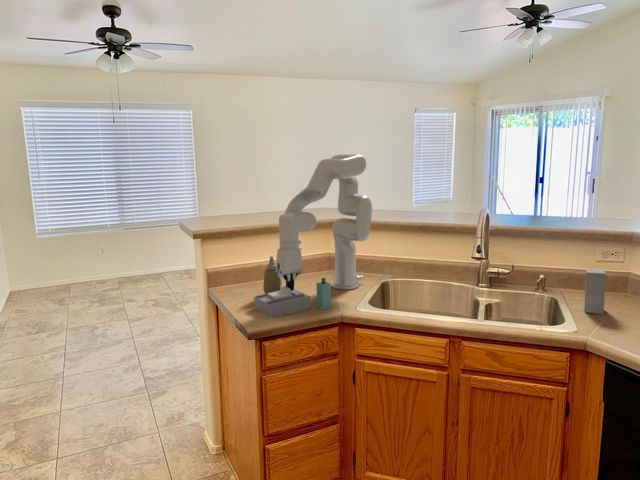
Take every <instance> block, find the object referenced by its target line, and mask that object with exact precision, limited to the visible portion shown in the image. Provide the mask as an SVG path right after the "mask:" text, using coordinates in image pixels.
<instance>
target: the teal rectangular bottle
mask: <svg viewBox="0 0 640 480" xmlns="http://www.w3.org/2000/svg"><path fill="white" fill-rule="evenodd" d="M320 280H321V282H316V308H319V309H320V310H326V309H330V308H332V301H331V300H332V297H331V296H332V295H331V294H332V292H331V289H332V288H331V286H332V283H330V282H328V281H326V277H321V279H320Z"/></svg>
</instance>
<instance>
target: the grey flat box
mask: <svg viewBox="0 0 640 480" xmlns="http://www.w3.org/2000/svg"><path fill="white" fill-rule="evenodd" d="M276 292H277V291H276ZM271 293H272V292H271ZM290 294H292V296H289V297H285V298H280V299H276V300H275V299H273V298H271V297H269V296H268V293H267V294H265V293H262V294H259V295H254V296H253V304H254V306H253V307H254V309H255V310H257V311H259V312H260V313H262V314H264V315H266V316H267V317H269V318H270V317H271V319H273V318H277V316H278V317H281V315H282V316H285V314H286V315H289V313H290V314H293V313H294V314H295V313H298V312H301V311H305V310H309V309H312V306H311V305H312V299H311V297H312V296H311V295H308V294H306V293H303V292H302V291H300V290H297V289H295V288H294V290H292V291H290Z"/></svg>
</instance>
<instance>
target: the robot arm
mask: <svg viewBox="0 0 640 480" xmlns="http://www.w3.org/2000/svg"><path fill="white" fill-rule="evenodd" d="M366 168H367V161H366V159H365V157H364V156H363V155H361V154H335V155H333V156H331V158H325V159H322V160H320V161H319V162H318V164H317V166H316V168H315V170H314V172H313V174H312V176H311V178H310V180H309V182H308V184H307V186H306V187H305V188H304V189H302V190H301V191H300V192H298V193H297V194H296V195H295V196H293V198H292V199H291V200H290V201H289V203H288V205H287V207H286V209H285V212H284V213H283V214H280V215H279V216H278V217H279V218H278V232H279V233H278V235H279V236H278V238H279V239H278V240H279V241H278V242H279V248H277V250H276V251H277V252H276V257H275V258H276V261H275V264H276V272H278V277H280V278H281V279H284V280H285V286H286V287H288V288H290V291H292V290H294V289H295V281H296V278H297V277H298V276H299V275H301V274H302V273H303V272H302V270H303V256H302V251H301V247H300V245H301V244H302V240H300V239H299V231H300V232H301V231H302V232H303V231H304V232H308V231H311V230H313V229H314V228H315V227H316V226H317V217H316V216H315V215H314V214H313V213H311V212H307V211H302V210H303V209H304V208H306V207H307V206H308V205H310V204H313V203H315V202H318V201H320V200H322V199H324V198H326V195H327V193H328V191H329V189H330V187H331V184H332V183H333V181H334V180H337V181H338V184H339V187H338V188H339V189H338V199H337V210H338V212H339V214H341V215H343V216H347V217H342V218H337V219H336V220H335V221H334V222H333V224H332V229H331V230H332V235H333V241H334V266H335V267H334V277H335V278H334V281H333V282H332V283H331V286H332V288H334V289H338V290H347V291H348V290H354V289H357V288H359V286H360V282H358V281H361V280H364V279H365V277H364V275H357V272H356V271H357V270H356V268H357V265H356V263H357V262H356V259H357V258H356V257H357V255H356V254H357V252H356V251H357V248H356V246H355V243H354V242H365V241H366V240H368V238H369V236H370V232H371V224H372V215H373V214H372V211H373V204H372V201H371V198H369V197H368V196H367V195H363V194H362V195H361V194H359V182H358V179H357V176H359V175H362V174H363V173H364V172H365V170H366ZM348 216H350V217H355V218H348Z"/></svg>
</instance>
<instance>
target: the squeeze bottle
mask: <svg viewBox="0 0 640 480" xmlns="http://www.w3.org/2000/svg"><path fill="white" fill-rule="evenodd" d="M265 267H266V269H264V272H263V273H264V275H263V294H267V293H271V292H276V291H280V286H281V285H283V283H282V278H280V277H278V272H276V262H275V259H274V256H270V257H269V261H268V263H267V264H266V266H265Z"/></svg>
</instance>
